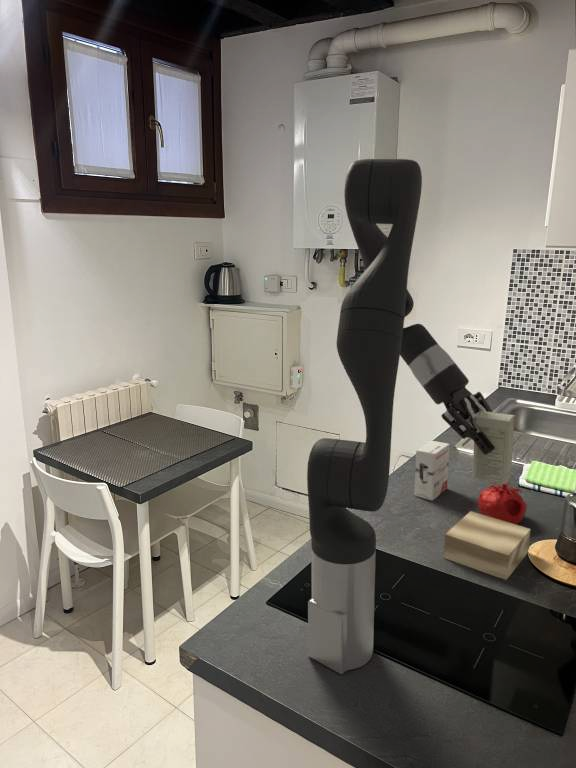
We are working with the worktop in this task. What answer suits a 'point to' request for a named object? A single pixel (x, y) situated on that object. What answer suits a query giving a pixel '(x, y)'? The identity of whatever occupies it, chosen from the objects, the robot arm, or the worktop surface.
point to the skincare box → (501, 436)
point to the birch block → (487, 544)
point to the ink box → (431, 470)
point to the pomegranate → (502, 503)
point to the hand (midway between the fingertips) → (495, 447)
